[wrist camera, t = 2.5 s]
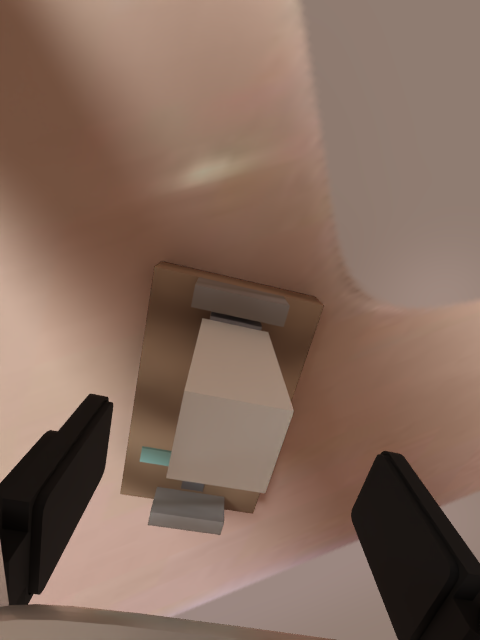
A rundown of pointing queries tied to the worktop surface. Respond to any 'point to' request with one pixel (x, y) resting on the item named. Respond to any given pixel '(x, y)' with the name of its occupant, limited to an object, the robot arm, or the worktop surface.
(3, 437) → the worktop surface
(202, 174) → the worktop surface
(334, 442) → the worktop surface
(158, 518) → the wooden slider board
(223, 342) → the fader
